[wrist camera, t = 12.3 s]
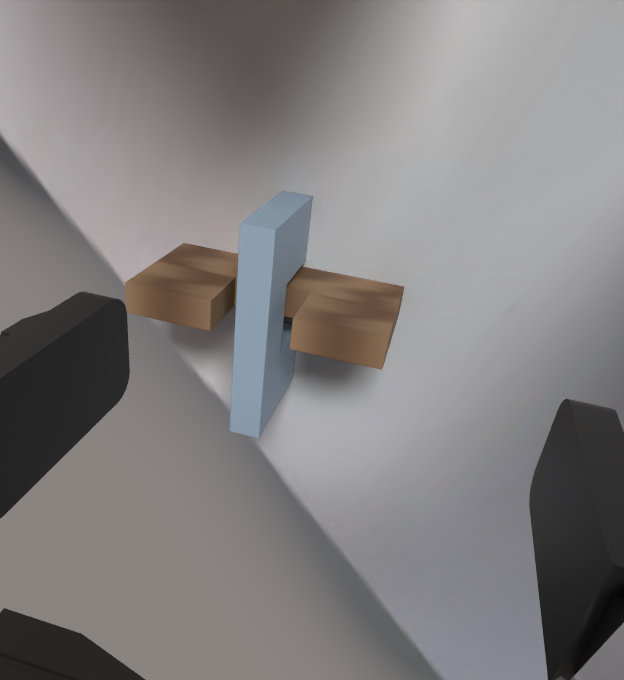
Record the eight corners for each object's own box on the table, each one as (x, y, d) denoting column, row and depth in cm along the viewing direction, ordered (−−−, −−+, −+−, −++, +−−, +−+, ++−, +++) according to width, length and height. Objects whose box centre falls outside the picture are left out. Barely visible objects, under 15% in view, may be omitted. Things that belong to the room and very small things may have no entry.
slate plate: (283, 190, 38) (240, 223, 31) (312, 196, 38) (275, 229, 31) (267, 371, 45) (229, 431, 38) (292, 377, 45) (258, 438, 38)
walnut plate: (404, 286, 39) (388, 339, 32) (398, 313, 40) (382, 369, 33) (183, 243, 42) (125, 282, 35) (183, 269, 43) (126, 312, 36)
